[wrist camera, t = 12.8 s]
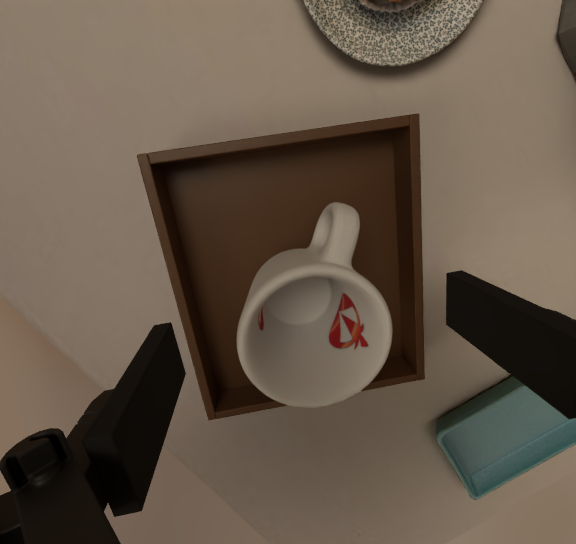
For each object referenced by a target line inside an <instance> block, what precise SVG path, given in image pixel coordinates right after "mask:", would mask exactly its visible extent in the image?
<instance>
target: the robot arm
mask: <svg viewBox="0 0 576 544" xmlns="http://www.w3.org/2000/svg"><path fill="white" fill-rule="evenodd" d="M446 325H448V326H449V327H450V328H452V329H453V330H454V331H455V332H457V333H458V334H459V335H461V336H462V337H463V338H464V339H466V340H467V341H468V342H470V343H471V344H472V345H473V346H475V347H476V348H477V349H479V350H480V351H481V352H483V353H484V354H485V355H486V356H488V357H489V358H490V359H492V360H493V361H494V362H495V363H497V364H498V365H499V366H501V367H502V368H503V369H505V370H506V371H507V372H508V373H510V374H511V375H512V376H514V377H515V378H516V379H517V380H519V381H520V382H521V383H523V384H524V385H525V386H526V387H528V388H529V389H530V390H532V391H533V392H534V393H536V394H537V395H538V396H539V397H541V398H542V399H543V400H545V401H546V402H547V403H548V404H550V405H551V406H552V407H554V408H555V409H556V410H558V411H559V412H560V413H561V414H563V415H564V416H565V417H567V418H568V419H574V418H576V320H575V319H571V318H570V317H568V316H566V315H564V314H561V313H559V312H557V311H553V310H549V309H545V308H542V307H540V306H538V305H536V304H533V303H531V302H529V301H527V300H525V299H523V298H520V297H518V296H516V295H514V294H512V293H510V292H507V291H505V290H503V289H501V288H499V287H497V286H494V285H492V284H490V283H488V282H486V281H484V280H481V279H479V278H477V277H475V276H473V275H471V274H468V273H466V272H464V271H462V270H461V271H456V272H450V273H447V284H446ZM185 374H186V373H185V369H184V366H183V362H182V359H181V355H180V352H179V348H178V345H177V341H176V338H175V334H174V331H173V327H172V324H171V322H170V323H165V324H159V325H154V326H153V328H152V330H151V331H150V333H149V334H148V336H147V338H146V339H145V341H144V342H143V344H142V346H141V347H140V349H139V350H138V352H137V353H136V355H135V357H134V358H133V360H132V361H131V363H130V365H129V366H128V368H127V369H126V371H125V373H124V374H123V376H122V377H121V379H120V380H119V382H118V384H117V385H116V387H115V388H114V389H112V390H106V391H104V392H102V393H101V394H100V395H99V396H98V397H97V398H96V399H94V400H93V401H92V402H91V404H90V405H89V406H88V408H87V409H86V411H85V412H84V415H82V417H81V418H80V419H79V421H78V424H77V425H75V427H74V428H73V430H72V431H71V432H70V434H69V435H68V437H67V438H66V437H65V435H64V433H63V431H61V430H60V429H53V428H52V429H51V428H50V429H46V430H43V431H39V432H37V433H35V434H33V435H30V436H28V437H27V438H25V439H23V440H22V441H20V442H19V443H17V444H16V445H15V446H14V447H12V448H11V449H10V450H9V451H8V452H7V453H6V454H5V456H4V457H3V458H2V459H1V461H0V471H1V473H2V474H3V476H4V478H5V480H6V482H7V483H8V485H9V487H10V489H11V491H10V492H7V493H5V494H3V495H0V544H121V543H120V542H119V540H118V538H117V536H116V534H115V532H114V530H113V528H112V527H111V525H110V523H109V521H108V519H107V518H106V515H105V513H104V510H105V508H106V506H107V503H109V505H110V508H111V510H112V512H113V515H114V517H116V516H121V515H125V514H130V513H135V512H139V511H142V509H143V505H144V502H145V499H146V496H147V493H148V490H149V487H150V484H151V480H152V477H153V474H154V471H155V468H156V465H157V461H158V459H159V455H160V452H161V449H162V446H163V443H164V440H165V437H166V434H167V431H168V427H169V424H170V421H171V418H172V415H173V412H174V409H175V406H176V403H177V399H178V396H179V393H180V390H181V387H182V384H183V381H184V378H185Z"/></svg>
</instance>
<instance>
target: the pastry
mask: <svg viewBox="0 0 576 544" xmlns="http://www.w3.org/2000/svg"><path fill="white" fill-rule="evenodd" d="M303 1H304V3H305V6H306V7H307V9H308V11H309V13H310V15H311V17H312V19H313V20H314V22H315V23H316V25H317V26H318V27H319V29H320V30H321V31H322V32H323V34H325V36H326V37H327V38H328V39H329V40H330V41H331V42H332V43H333V45H335V46H336V47H337V48H339V49H340V50H341V51H342V52H343V53H345V54H347V55H349V56H350V57H352V58H353V59H356V60H358V61H360V62H364V63H367V64H371V65H376V66H404V65H408V64H412V63H415V62H418V61H420V60H423V59H426V58H428V57H430V56H432V55H434V54H436V53H437V52H439V51H441V50H442V49H444V48H445V47H446V46H448V45H449V44H450V43H451V42H453V41H454V40H455V39H456V38H457V37H458V36H459V35H460V34H461V33H462V32H463V31H464V29H465V28H466V27H467V26H468V24H469V23H470V22H471V20H472V19H473V18H474V16H475V14H476V12H477V11H478V9H479V7H480V6H481V4H482V2H483V1H484V0H303Z"/></svg>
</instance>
